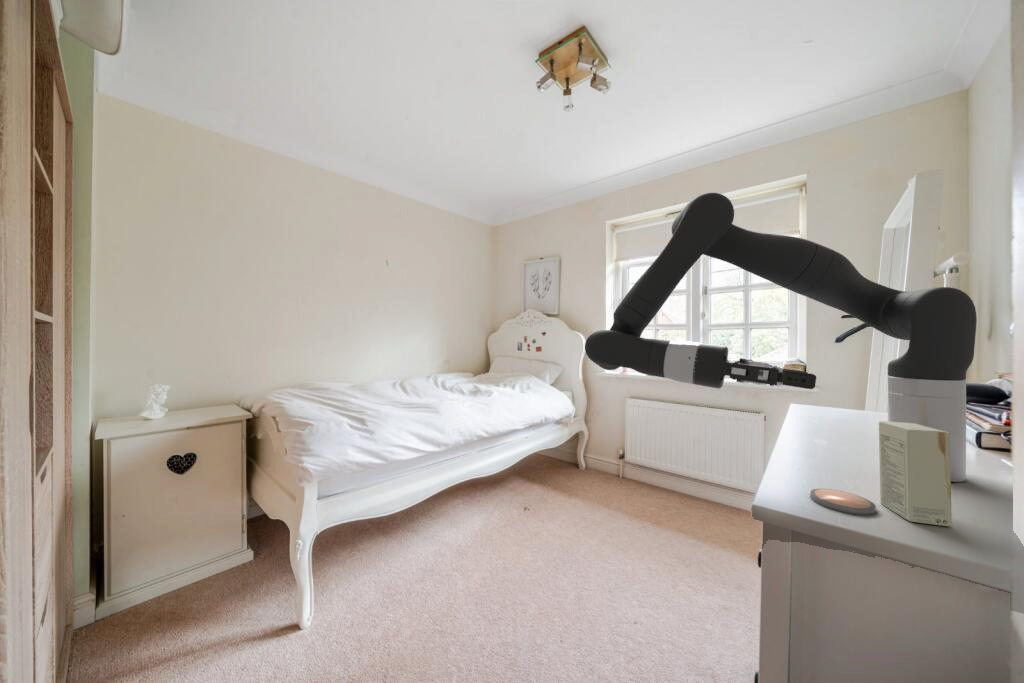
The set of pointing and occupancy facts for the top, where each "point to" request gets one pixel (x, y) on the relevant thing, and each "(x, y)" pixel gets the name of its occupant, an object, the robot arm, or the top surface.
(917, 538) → the top surface
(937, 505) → the skincare box
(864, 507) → the tile
